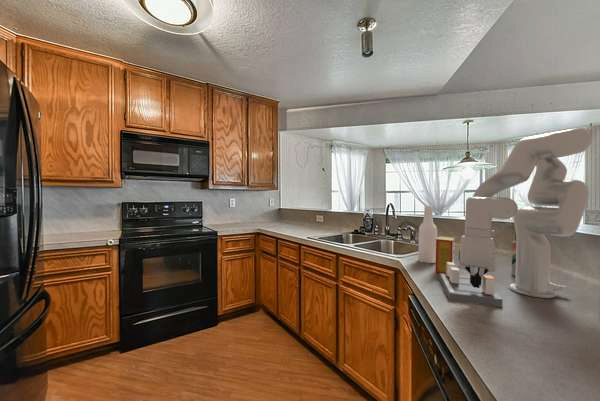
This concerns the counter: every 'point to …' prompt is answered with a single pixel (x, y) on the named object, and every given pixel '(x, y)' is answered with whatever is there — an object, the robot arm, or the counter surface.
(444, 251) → the baking soda box
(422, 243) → the alcohol
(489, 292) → the handle
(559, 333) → the counter surface
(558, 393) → the counter surface
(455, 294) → the panel
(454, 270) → the handle mid
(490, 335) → the counter surface
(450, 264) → the handle back
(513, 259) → the lotion bottle
